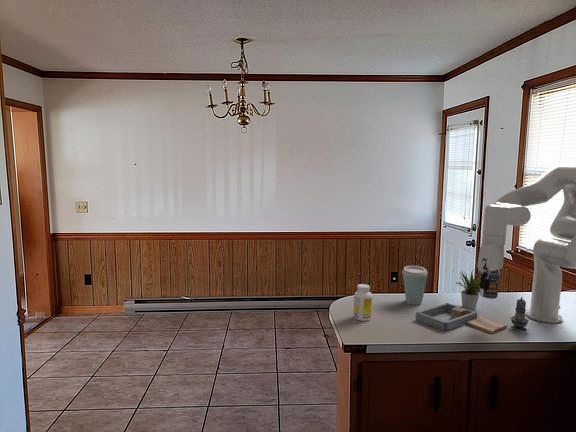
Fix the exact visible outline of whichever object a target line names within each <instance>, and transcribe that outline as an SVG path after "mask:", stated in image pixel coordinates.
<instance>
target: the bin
mask: <svg viewBox="0 0 576 432" xmlns="http://www.w3.org/2000/svg"><path fill="white" fill-rule="evenodd" d="M455 307H460V308H463V309H466V308H464V307H461V306H458V305H455V304H451V303H450V302H445V303H443V304H438V305H435V306H432V307H429V308H426V309H423V310H420V311H416V312H415V321H418V322H420V323H422V324H425V325H427V326H428V325H429V326H430V327H434V328H436V329H439V330H441V331H444V332H448V331H450V330H453V329H456V328H459V327H462V326H464V325H466V322H468V321H471V320H473V319H476V318H478V312H477V311H474V310H472V309H466V310H467V314H466V315H464V316H461V317H458V318H455V319H449V320H447V321H445V320H441V319H439V318H436V317H434V316H437V315H439V314H442V313H446V312H449V313H451V309H452V308H455Z"/></svg>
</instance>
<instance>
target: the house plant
mask: <svg viewBox="0 0 576 432" xmlns="http://www.w3.org/2000/svg"><path fill="white" fill-rule="evenodd" d="M474 270H475V268H474V269H472V271H470V273H471V274H470V278H468V275H467V273H466V272H464V271H463V270H461V271H459V272H457V273H458V275H459V279H461V280H462V282H463V283H462V282H460V281H457V282H455V283H454V284H455V285H460V286H462V287H463V288H464V290H463V289H462V290H461V291H460V296H461V306H462V308H465V309H468V310H476V308H477V305H478V301H479V298H480V282H479V281H480V279H481V278H480V274H479V275H478V273H476V274H475V276H477V275H478V276H477V277H476V278H475V276H474V275H473V272H474ZM451 271H452V272H453V270H451ZM462 271H463V272H464V273H463V272H462ZM459 273H460V274H459ZM477 291H479V292H477Z"/></svg>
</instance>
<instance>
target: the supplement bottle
mask: <svg viewBox="0 0 576 432" xmlns="http://www.w3.org/2000/svg"><path fill="white" fill-rule="evenodd" d="M356 289H357V290H356V291H355V292H354V295H353V296H354V297H353V298H354V302H353V318H354V319H355V320H357V321H361V322H367V321H370V320H371V319H372V311H373V310H372V309H373V306H372V305H373V304H372V303H373V294H372V292H370V290H371V286H370V285H369V284H365V283H360V284H357V287H356Z"/></svg>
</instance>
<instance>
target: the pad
mask: <svg viewBox="0 0 576 432" xmlns="http://www.w3.org/2000/svg"><path fill="white" fill-rule="evenodd" d="M465 325H466V326H469V327H472V328H474V329H477V330H480V331H483V332H486V333H489V334H492V335H493V334H495V333H497V332H500V331H502V330H504V329H507V326H508V325H507V324H505V323H501V322H498V321H495V320H492V319H490V318H486V317H482V316H479V317H477V318H476V319H473V320H471V321H468V322H466V324H465Z"/></svg>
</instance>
